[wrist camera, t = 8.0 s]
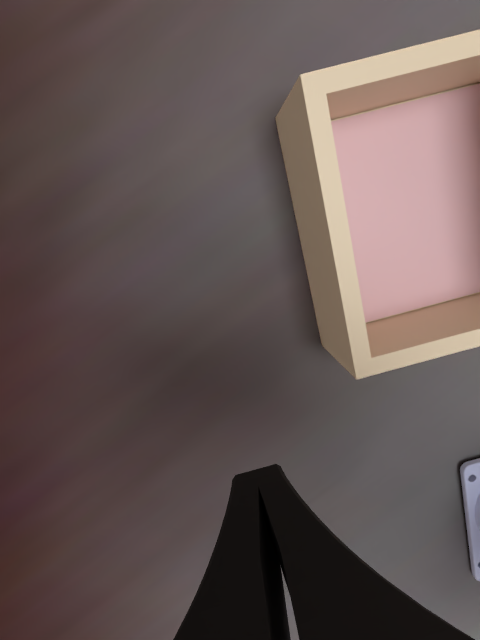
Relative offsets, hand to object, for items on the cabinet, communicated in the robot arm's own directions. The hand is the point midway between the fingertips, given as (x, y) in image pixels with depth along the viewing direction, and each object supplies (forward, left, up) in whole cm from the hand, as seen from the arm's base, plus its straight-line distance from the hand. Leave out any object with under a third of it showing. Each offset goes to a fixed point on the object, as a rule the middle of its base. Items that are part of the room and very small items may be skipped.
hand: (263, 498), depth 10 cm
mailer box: (+6, -14, -10) cm, 18 cm away
